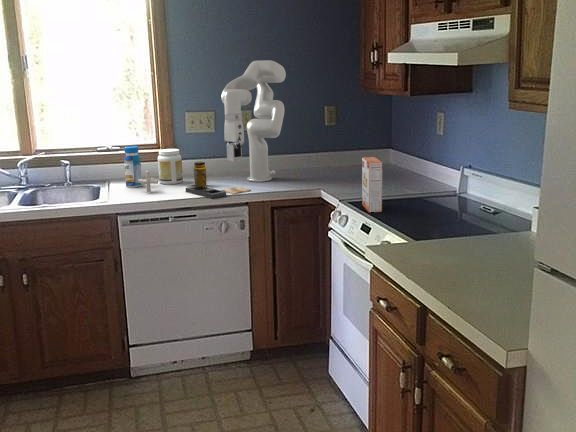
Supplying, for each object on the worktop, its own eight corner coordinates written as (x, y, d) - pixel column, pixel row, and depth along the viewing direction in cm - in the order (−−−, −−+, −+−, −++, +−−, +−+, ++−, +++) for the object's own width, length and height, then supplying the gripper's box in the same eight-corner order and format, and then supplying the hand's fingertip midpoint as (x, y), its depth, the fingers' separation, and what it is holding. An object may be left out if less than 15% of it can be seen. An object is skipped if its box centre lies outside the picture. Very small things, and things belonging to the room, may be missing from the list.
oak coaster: (237, 188, 320) (237, 186, 320) (250, 190, 313) (250, 189, 313) (221, 191, 314) (221, 189, 314) (233, 194, 307) (233, 192, 307)
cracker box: (361, 205, 279) (361, 156, 274) (375, 204, 280) (375, 156, 275) (367, 213, 266) (368, 162, 261) (382, 212, 266) (383, 161, 261)
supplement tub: (179, 179, 346) (177, 147, 342) (186, 183, 335) (184, 150, 331) (156, 181, 341) (154, 149, 337) (162, 185, 330) (160, 152, 326)
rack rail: (199, 189, 319) (199, 185, 318) (226, 196, 303) (226, 191, 302) (185, 191, 314) (185, 187, 313) (212, 198, 298) (212, 194, 297)
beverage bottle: (143, 186, 328) (140, 147, 323) (126, 188, 326) (123, 148, 321) (141, 183, 336) (139, 145, 331) (125, 185, 333) (121, 146, 329)
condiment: (209, 186, 327) (208, 162, 324) (194, 188, 323) (193, 164, 320) (203, 183, 333) (202, 160, 330) (188, 185, 329) (186, 162, 326)
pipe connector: (163, 190, 319) (161, 169, 317) (152, 194, 310) (151, 173, 308) (145, 189, 322) (143, 169, 320) (134, 193, 313) (132, 172, 311)
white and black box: (235, 159, 313) (234, 142, 312) (241, 160, 310) (241, 143, 308) (227, 160, 310) (226, 143, 308) (233, 161, 307) (232, 144, 305)
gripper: (250, 117, 301) (251, 157, 306) (228, 115, 314) (230, 153, 318) (237, 119, 297) (239, 159, 301) (215, 117, 309) (217, 155, 313)
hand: (234, 155), depth 310 cm, fingers closed on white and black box, 5 cm apart
